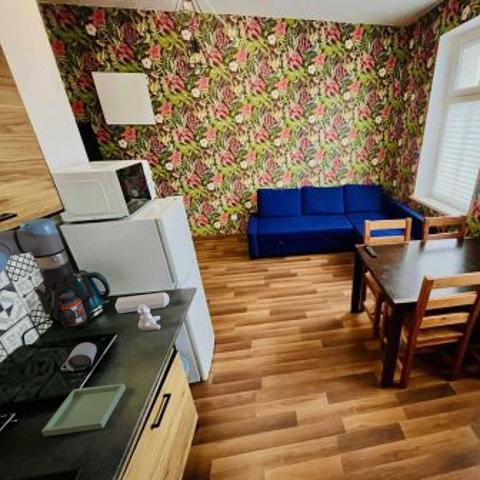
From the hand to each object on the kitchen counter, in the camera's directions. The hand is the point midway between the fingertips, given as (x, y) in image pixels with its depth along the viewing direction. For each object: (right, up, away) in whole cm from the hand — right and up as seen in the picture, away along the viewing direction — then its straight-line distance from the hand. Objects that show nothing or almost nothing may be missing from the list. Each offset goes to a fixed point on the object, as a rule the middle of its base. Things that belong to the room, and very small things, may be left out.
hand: (77, 320), depth 97 cm
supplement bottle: (0, -1, 0) cm, 1 cm away
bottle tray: (+15, -25, -12) cm, 32 cm away
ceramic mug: (-2, -19, +4) cm, 19 cm away
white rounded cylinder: (0, -5, +37) cm, 38 cm away
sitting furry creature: (+11, -10, +24) cm, 29 cm away
